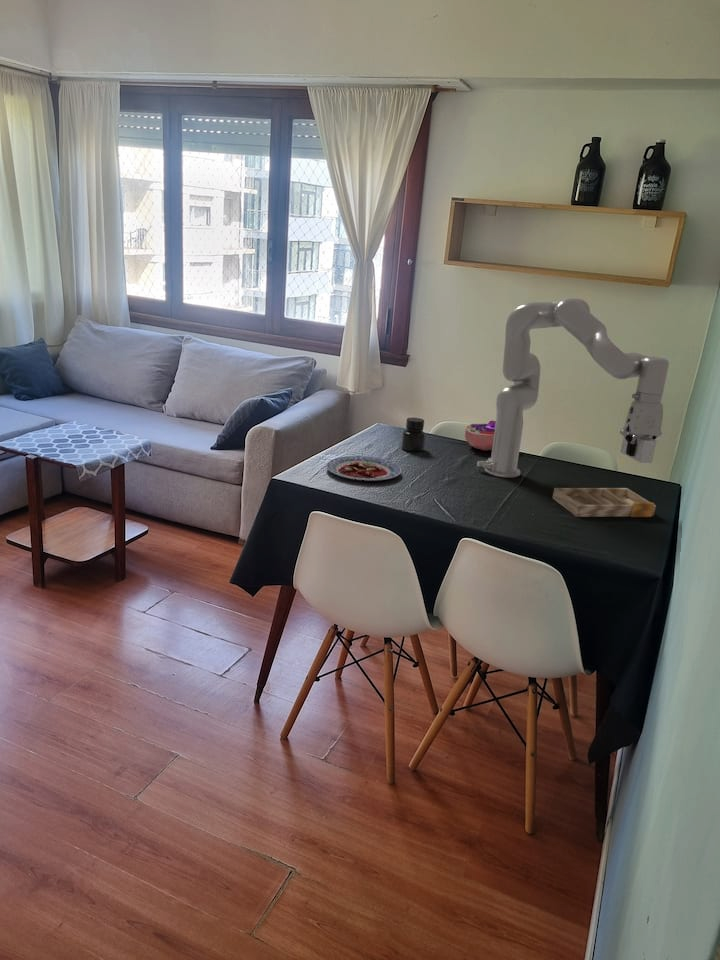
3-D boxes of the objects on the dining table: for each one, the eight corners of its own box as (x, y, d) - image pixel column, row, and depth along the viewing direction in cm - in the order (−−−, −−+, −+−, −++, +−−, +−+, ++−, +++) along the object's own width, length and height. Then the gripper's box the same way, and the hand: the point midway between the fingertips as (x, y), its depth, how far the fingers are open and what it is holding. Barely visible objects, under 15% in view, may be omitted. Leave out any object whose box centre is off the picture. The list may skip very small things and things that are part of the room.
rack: (577, 517, 203) (580, 503, 202) (552, 498, 219) (554, 485, 217) (654, 516, 209) (658, 503, 207) (625, 497, 224) (627, 485, 223)
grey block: (640, 462, 205) (644, 440, 203) (620, 452, 215) (624, 431, 213) (651, 462, 206) (656, 440, 203) (631, 452, 216) (635, 431, 214)
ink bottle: (427, 449, 264) (431, 419, 260) (420, 454, 256) (423, 423, 252) (404, 444, 267) (407, 415, 264) (397, 449, 260) (399, 419, 256)
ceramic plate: (378, 491, 213) (379, 482, 213) (311, 474, 225) (311, 465, 224) (413, 472, 235) (414, 464, 234) (350, 457, 247) (350, 449, 246)
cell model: (452, 446, 271) (455, 418, 267) (487, 441, 282) (491, 415, 278) (482, 457, 258) (486, 429, 254) (517, 452, 269) (521, 424, 266)
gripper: (630, 400, 199) (618, 458, 205) (680, 401, 203) (667, 459, 208) (616, 394, 206) (605, 451, 212) (664, 396, 210) (652, 452, 215)
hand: (636, 454), depth 210 cm, fingers closed on grey block, 4 cm apart
